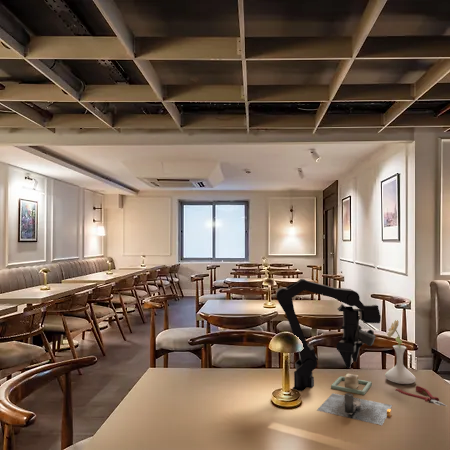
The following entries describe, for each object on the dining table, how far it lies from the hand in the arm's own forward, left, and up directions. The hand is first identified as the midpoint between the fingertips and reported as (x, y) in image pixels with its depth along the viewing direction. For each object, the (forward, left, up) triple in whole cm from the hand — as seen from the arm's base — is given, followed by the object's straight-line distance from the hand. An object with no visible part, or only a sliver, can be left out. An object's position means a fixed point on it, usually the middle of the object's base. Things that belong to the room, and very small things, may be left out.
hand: (351, 364), depth 149 cm
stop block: (0, 0, -9) cm, 9 cm away
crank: (+6, -22, -8) cm, 24 cm away
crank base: (+6, -19, -10) cm, 22 cm away
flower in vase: (+14, +19, -10) cm, 25 cm away
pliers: (+23, +2, -10) cm, 25 cm away
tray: (0, 0, -10) cm, 10 cm away
